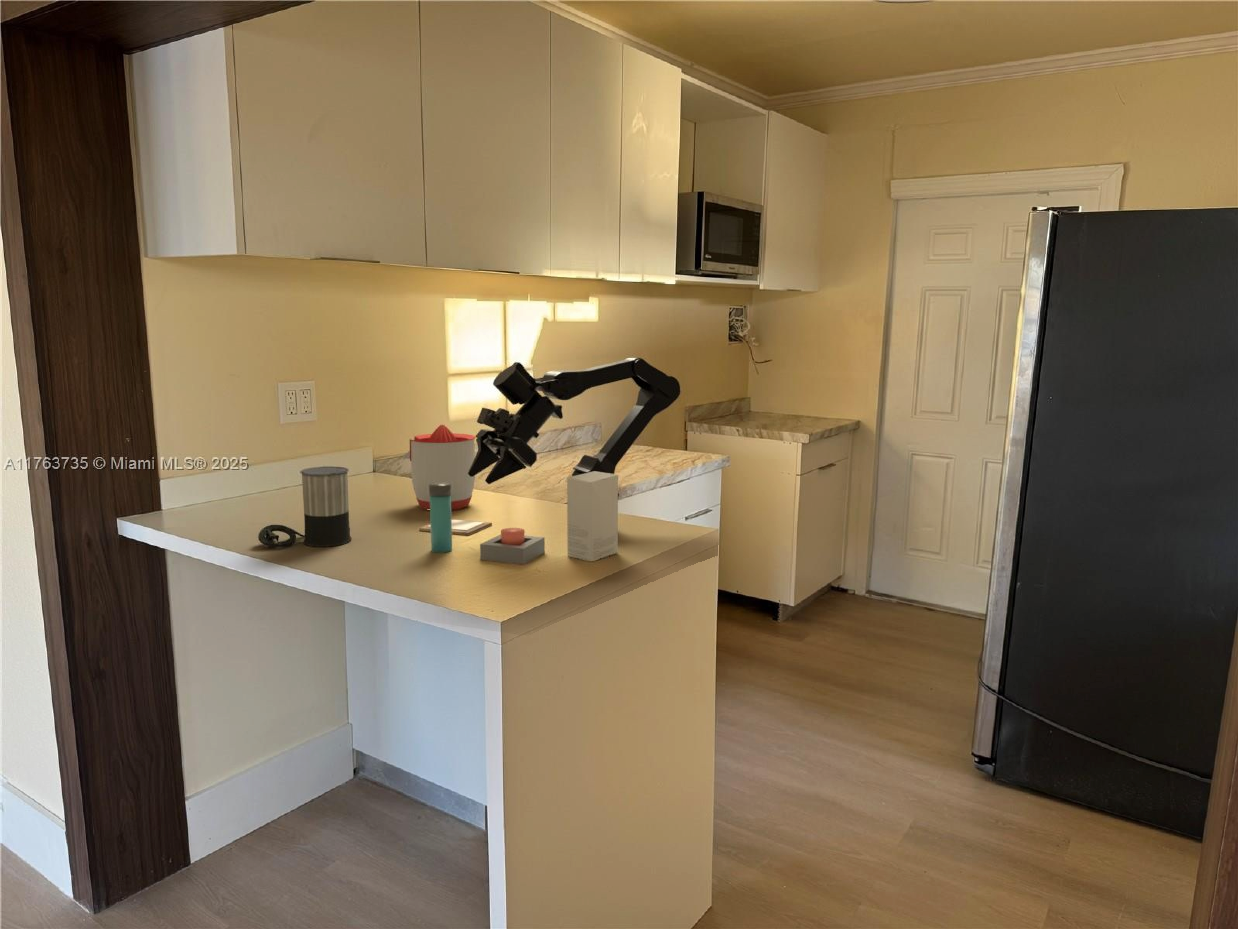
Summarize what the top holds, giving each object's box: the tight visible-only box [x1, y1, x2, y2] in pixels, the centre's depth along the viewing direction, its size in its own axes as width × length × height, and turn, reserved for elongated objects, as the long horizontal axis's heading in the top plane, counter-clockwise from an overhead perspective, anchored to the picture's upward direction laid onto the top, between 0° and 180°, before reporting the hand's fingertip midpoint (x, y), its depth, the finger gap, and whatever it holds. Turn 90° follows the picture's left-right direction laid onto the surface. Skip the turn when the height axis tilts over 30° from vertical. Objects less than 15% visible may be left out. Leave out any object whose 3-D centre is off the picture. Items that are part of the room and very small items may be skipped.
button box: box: [479, 533, 546, 565], centre depth 162 cm, size 9×9×3 cm
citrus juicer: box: [402, 424, 477, 511], centre depth 204 cm, size 16×17×20 cm
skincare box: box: [566, 471, 619, 562], centre depth 161 cm, size 8×7×16 cm
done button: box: [500, 527, 525, 546], centre depth 161 cm, size 4×4×3 cm
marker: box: [429, 483, 453, 554], centre depth 165 cm, size 4×4×13 cm
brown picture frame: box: [418, 518, 493, 537], centre depth 184 cm, size 12×10×1 cm
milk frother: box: [257, 465, 352, 548], centre depth 170 cm, size 14×16×15 cm
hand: (478, 478), depth 168 cm, fingers open, 9 cm apart
